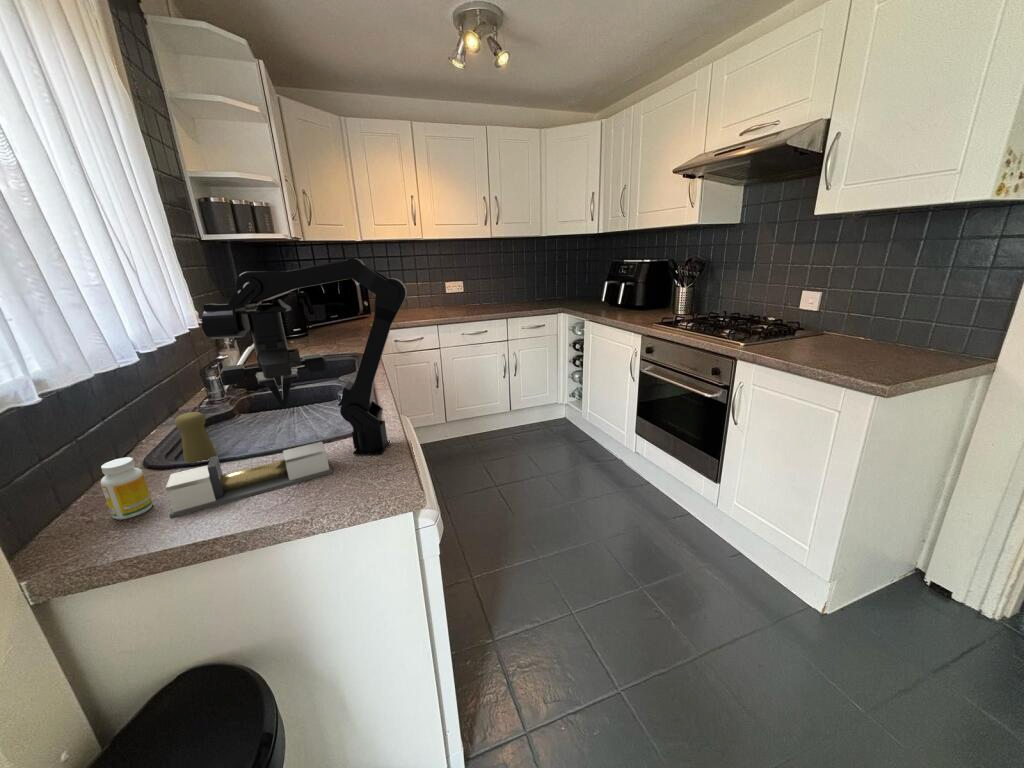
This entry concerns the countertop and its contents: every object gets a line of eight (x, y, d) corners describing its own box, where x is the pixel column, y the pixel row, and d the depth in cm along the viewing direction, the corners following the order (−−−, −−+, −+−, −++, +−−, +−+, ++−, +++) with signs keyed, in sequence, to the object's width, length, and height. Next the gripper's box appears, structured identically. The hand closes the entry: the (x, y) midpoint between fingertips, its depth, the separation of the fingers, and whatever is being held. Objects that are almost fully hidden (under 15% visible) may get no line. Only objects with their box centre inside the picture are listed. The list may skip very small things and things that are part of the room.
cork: (204, 465, 88) (191, 418, 85) (177, 466, 88) (163, 419, 85) (223, 453, 93) (212, 408, 90) (197, 454, 93) (185, 409, 90)
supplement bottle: (104, 521, 68) (85, 471, 66) (129, 504, 74) (113, 456, 71) (138, 518, 69) (120, 468, 66) (161, 501, 74) (145, 454, 71)
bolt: (290, 467, 83) (284, 440, 81) (292, 477, 79) (286, 449, 77) (187, 494, 74) (178, 464, 73) (184, 506, 70) (174, 475, 69)
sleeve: (325, 459, 86) (321, 441, 85) (329, 469, 82) (325, 450, 81) (287, 469, 83) (283, 450, 82) (289, 480, 78) (284, 460, 77)
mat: (327, 460, 87) (326, 457, 87) (332, 473, 82) (332, 470, 82) (176, 499, 74) (175, 496, 74) (170, 518, 69) (169, 514, 68)
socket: (217, 487, 77) (211, 464, 76) (215, 500, 72) (209, 477, 71) (178, 497, 74) (171, 473, 73) (173, 512, 69) (165, 487, 68)
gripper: (209, 347, 70) (231, 430, 74) (324, 334, 80) (337, 408, 84) (213, 339, 79) (232, 413, 84) (316, 328, 89) (328, 395, 93)
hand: (284, 407), depth 86 cm, fingers closed
